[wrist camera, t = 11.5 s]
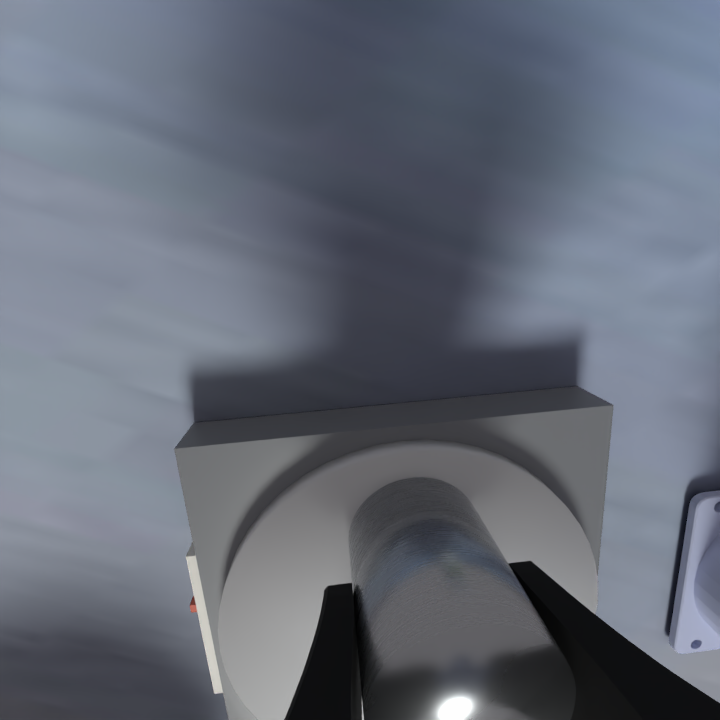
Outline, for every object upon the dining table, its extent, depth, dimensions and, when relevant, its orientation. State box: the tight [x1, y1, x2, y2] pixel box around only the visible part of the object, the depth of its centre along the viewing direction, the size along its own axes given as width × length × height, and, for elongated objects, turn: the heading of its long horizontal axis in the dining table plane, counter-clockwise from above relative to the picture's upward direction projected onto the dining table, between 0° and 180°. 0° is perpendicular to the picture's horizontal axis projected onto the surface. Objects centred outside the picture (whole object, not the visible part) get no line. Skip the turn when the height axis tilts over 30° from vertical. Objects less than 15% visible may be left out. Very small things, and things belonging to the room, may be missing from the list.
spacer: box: [348, 477, 576, 720], centre depth 10 cm, size 4×4×5 cm
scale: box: [174, 386, 613, 720], centre depth 15 cm, size 15×14×3 cm
